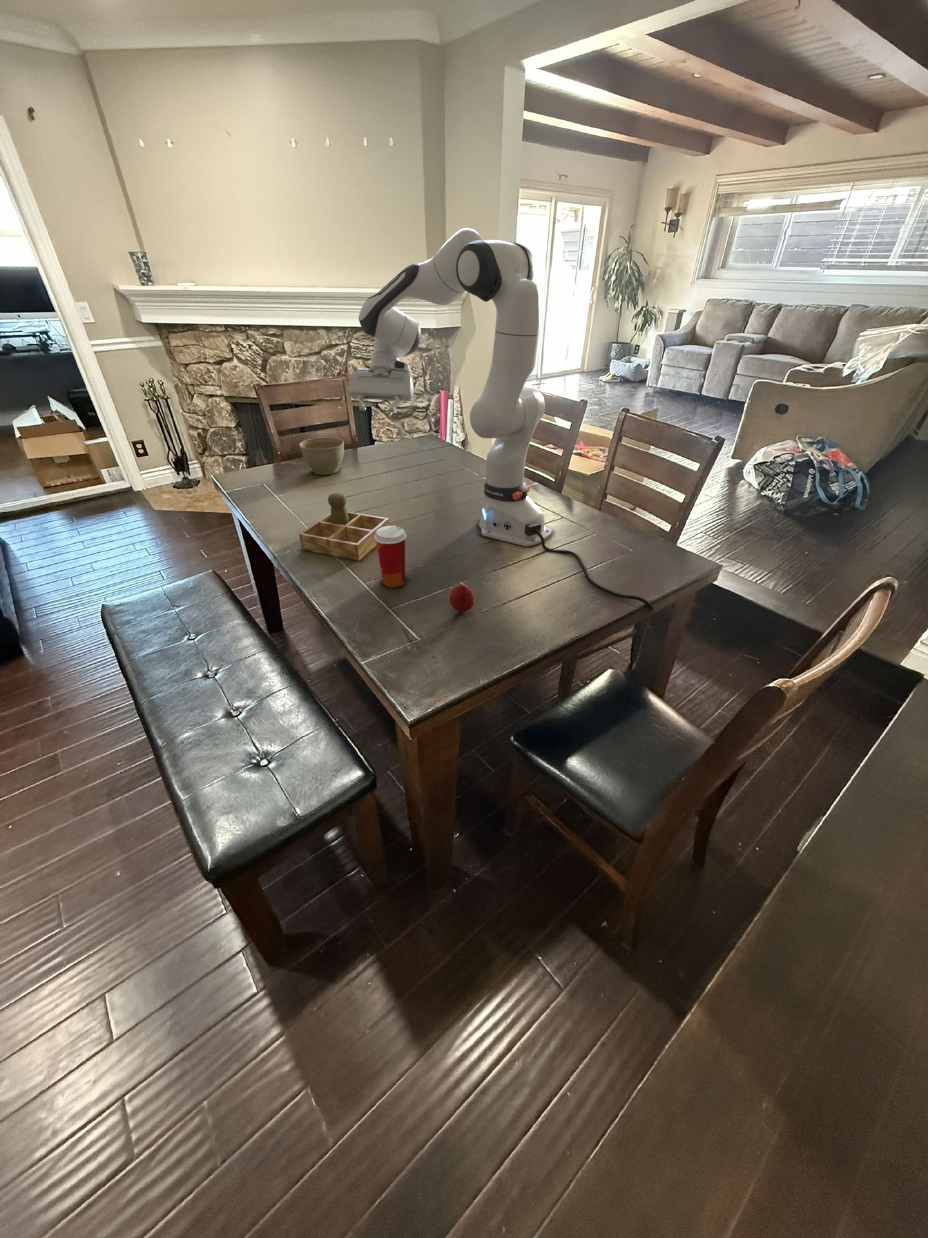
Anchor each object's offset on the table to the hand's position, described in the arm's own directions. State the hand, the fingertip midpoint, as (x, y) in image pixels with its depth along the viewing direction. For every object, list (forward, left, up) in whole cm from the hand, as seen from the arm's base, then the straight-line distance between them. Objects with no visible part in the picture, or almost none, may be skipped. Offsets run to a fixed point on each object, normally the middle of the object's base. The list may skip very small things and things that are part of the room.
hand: (377, 410), depth 156 cm
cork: (-8, +25, -29) cm, 39 cm away
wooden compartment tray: (-14, +27, -29) cm, 42 cm away
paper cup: (-41, +34, -30) cm, 61 cm away
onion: (-63, +33, -30) cm, 77 cm away
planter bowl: (+39, -6, -30) cm, 50 cm away
